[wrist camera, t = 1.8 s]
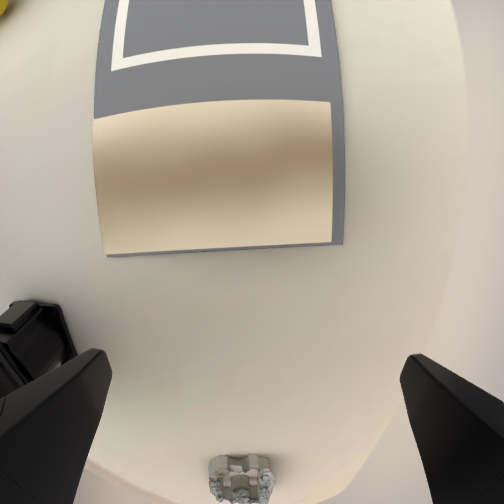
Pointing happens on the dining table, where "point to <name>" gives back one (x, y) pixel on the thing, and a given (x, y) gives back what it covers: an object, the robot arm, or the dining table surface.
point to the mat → (222, 65)
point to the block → (214, 175)
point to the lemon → (3, 6)
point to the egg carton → (241, 479)
